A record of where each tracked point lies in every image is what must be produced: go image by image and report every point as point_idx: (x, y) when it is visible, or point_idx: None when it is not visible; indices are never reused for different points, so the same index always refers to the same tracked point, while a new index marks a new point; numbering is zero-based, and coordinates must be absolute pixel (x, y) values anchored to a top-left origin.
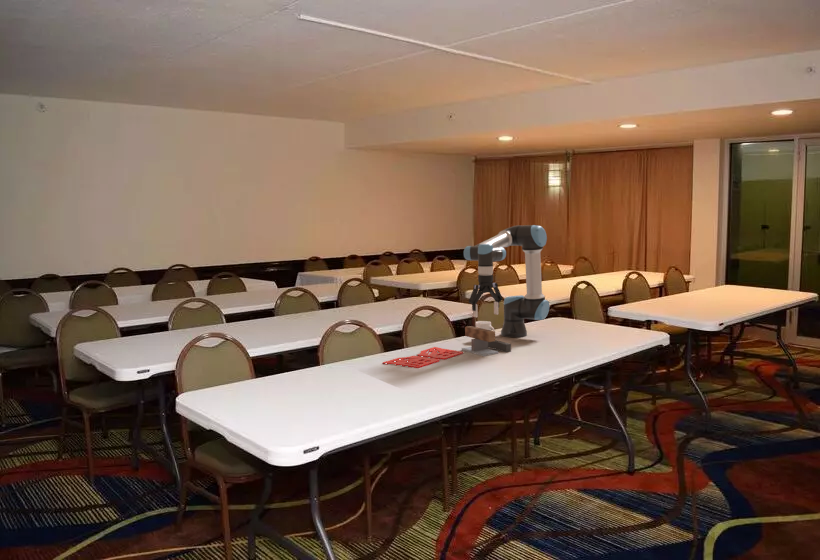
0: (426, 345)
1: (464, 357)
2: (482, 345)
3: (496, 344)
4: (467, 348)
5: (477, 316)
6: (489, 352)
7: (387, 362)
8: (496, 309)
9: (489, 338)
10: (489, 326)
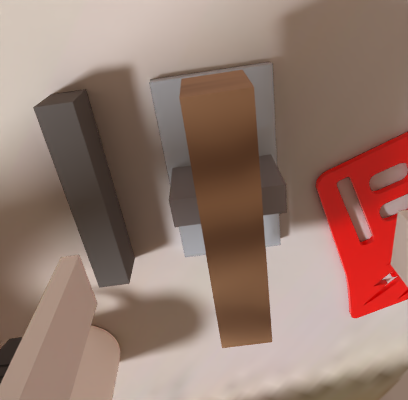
0: (347, 360)
1: (383, 80)
2: None
3: (105, 189)
4: None
5: (405, 216)
6: None
7: None
8: (66, 314)
9: (241, 75)
10: None
